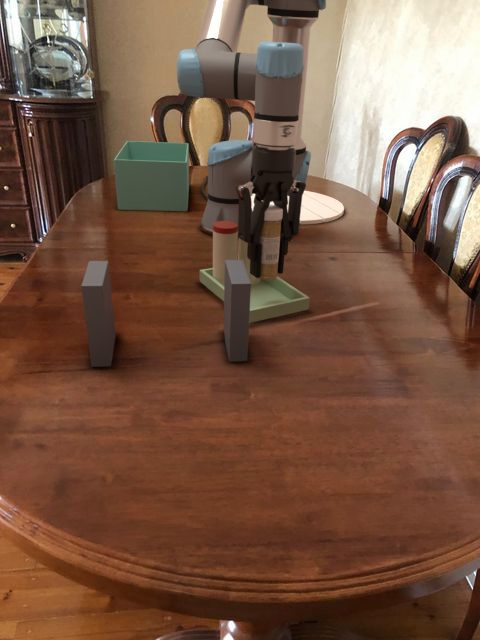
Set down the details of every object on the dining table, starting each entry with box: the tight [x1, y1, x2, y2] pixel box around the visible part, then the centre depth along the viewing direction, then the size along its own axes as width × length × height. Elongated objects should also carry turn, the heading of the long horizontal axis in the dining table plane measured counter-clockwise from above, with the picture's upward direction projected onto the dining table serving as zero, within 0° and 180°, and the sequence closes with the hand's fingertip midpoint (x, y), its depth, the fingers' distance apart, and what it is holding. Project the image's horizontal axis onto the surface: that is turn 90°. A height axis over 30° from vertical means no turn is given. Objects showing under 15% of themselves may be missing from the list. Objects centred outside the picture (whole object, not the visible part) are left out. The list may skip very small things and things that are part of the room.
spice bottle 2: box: [237, 237, 260, 285], centre depth 111 cm, size 5×5×13 cm
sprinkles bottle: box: [259, 205, 283, 280], centre depth 99 cm, size 5×5×14 cm
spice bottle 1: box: [212, 221, 239, 286], centre depth 109 cm, size 5×5×13 cm
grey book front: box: [80, 260, 117, 368], centre depth 84 cm, size 3×10×14 cm, turn 9°
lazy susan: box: [251, 190, 345, 225], centre depth 171 cm, size 40×39×3 cm
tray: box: [199, 267, 311, 324], centre depth 108 cm, size 22×14×3 cm, turn 31°
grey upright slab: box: [223, 259, 251, 363], centre depth 88 cm, size 3×10×14 cm, turn 9°
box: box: [113, 140, 190, 212], centre depth 169 cm, size 21×32×14 cm, turn 6°
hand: (266, 273), depth 102 cm, fingers closed on sprinkles bottle, 4 cm apart
